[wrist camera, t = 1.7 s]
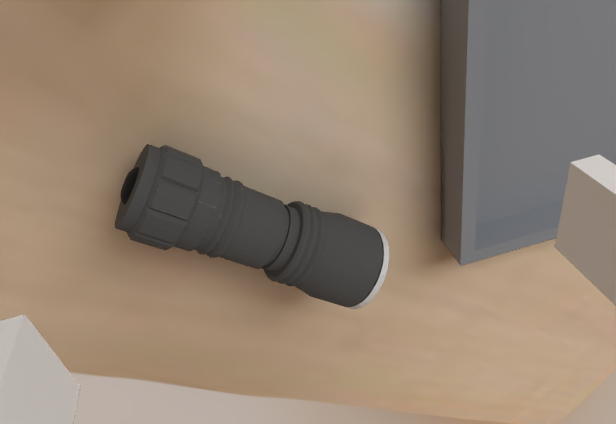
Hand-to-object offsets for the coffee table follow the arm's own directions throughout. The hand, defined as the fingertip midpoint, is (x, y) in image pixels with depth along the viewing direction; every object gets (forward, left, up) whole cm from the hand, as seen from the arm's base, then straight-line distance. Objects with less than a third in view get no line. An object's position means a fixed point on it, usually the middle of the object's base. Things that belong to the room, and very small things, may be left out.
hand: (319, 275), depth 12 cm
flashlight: (+3, -4, -10) cm, 11 cm away
